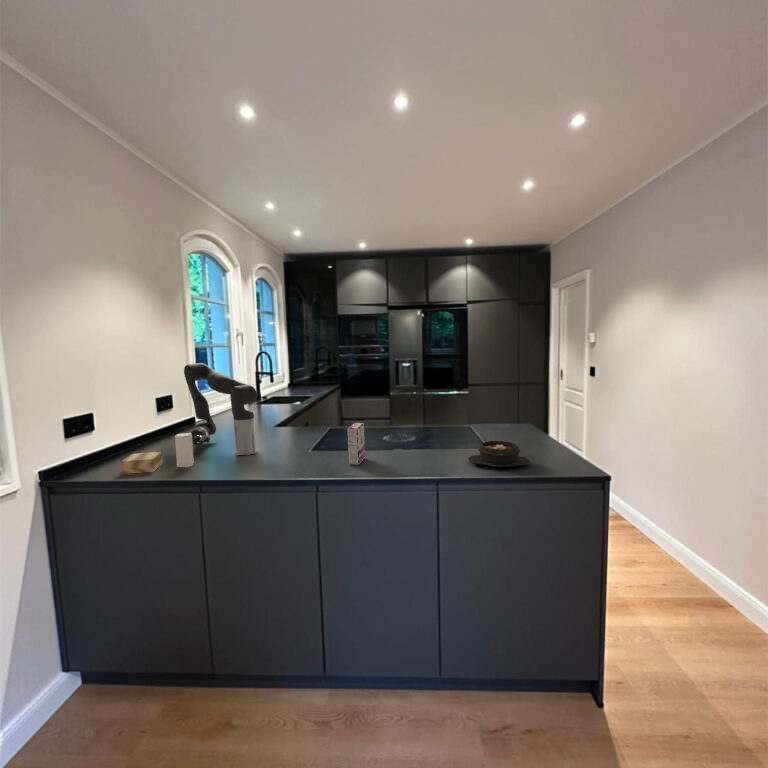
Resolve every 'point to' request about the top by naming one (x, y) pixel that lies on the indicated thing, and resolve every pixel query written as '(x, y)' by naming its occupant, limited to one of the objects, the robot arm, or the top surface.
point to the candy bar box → (356, 442)
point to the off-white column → (184, 450)
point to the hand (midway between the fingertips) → (190, 443)
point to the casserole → (498, 455)
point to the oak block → (141, 462)
